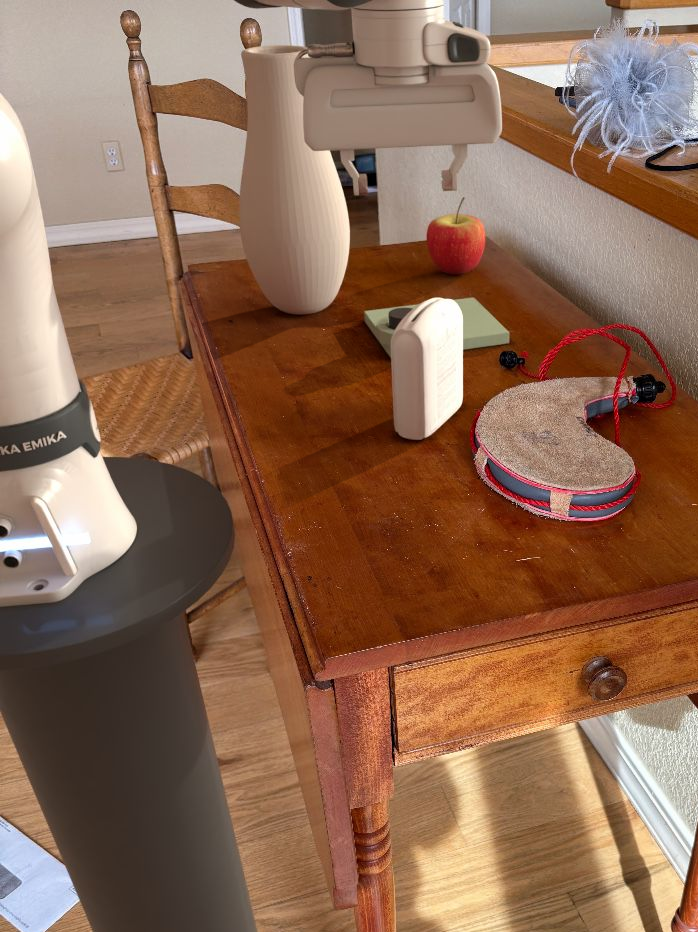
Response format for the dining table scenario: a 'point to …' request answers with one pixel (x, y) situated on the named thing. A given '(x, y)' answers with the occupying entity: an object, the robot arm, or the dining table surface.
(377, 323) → the scale
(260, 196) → the vase
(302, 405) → the dining table surface
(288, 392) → the dining table surface
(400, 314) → the button
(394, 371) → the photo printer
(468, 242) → the apple
